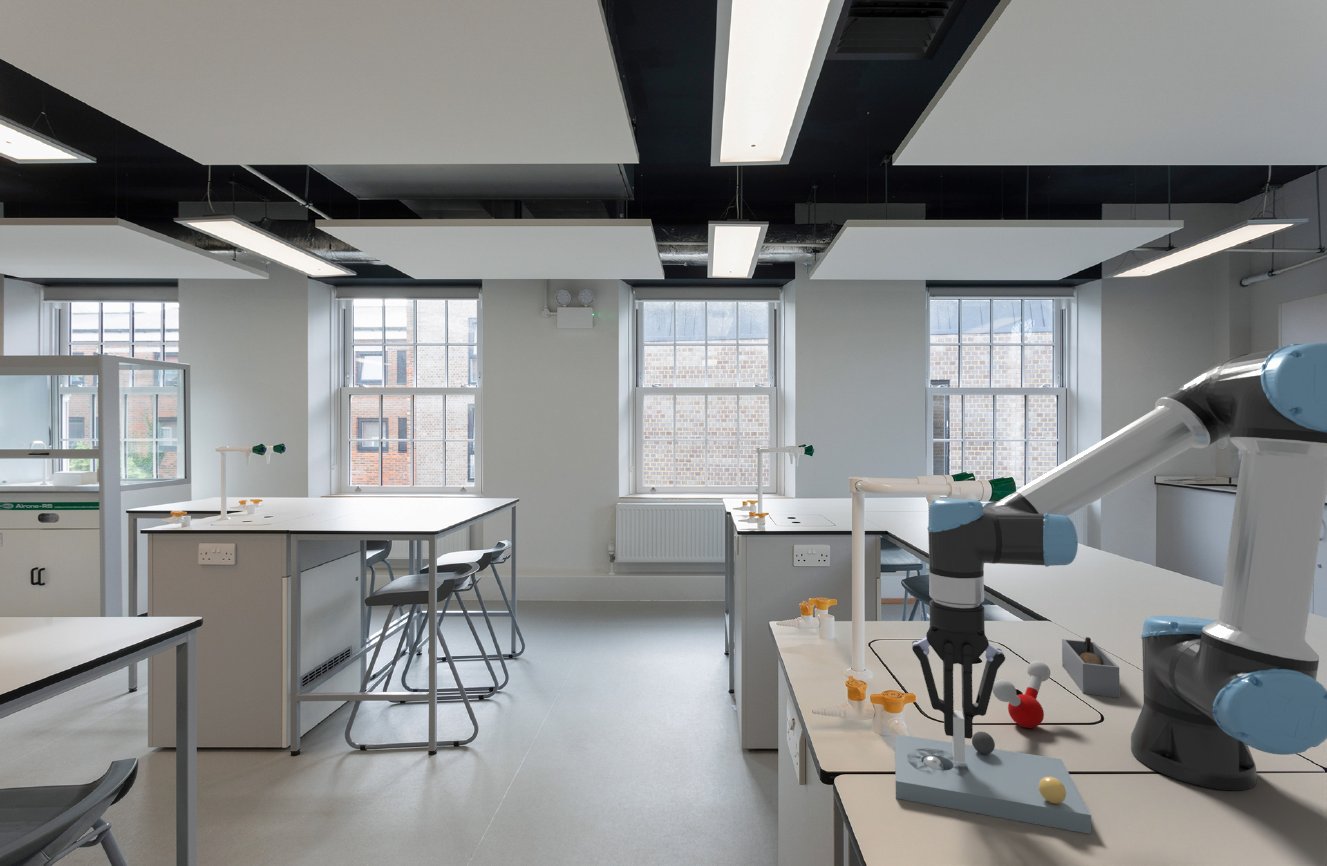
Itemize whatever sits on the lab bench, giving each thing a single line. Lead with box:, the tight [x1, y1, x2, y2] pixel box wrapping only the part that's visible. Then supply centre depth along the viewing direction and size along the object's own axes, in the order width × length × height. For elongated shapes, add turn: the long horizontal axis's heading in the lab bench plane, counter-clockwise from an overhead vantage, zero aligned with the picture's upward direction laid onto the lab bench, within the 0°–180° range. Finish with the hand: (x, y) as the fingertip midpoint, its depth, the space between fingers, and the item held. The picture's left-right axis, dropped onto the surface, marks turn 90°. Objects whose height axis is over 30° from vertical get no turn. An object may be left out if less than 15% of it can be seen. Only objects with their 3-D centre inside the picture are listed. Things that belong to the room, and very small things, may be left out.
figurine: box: [1079, 636, 1103, 665], centre depth 132 cm, size 14×4×9 cm, turn 153°
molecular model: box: [992, 660, 1051, 729], centre depth 111 cm, size 18×6×10 cm, turn 133°
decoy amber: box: [1039, 777, 1066, 804], centre depth 84 cm, size 3×3×3 cm
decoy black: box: [971, 731, 996, 754], centre depth 97 cm, size 3×3×3 cm
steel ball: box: [922, 756, 944, 771], centre depth 94 cm, size 3×3×3 cm
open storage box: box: [1061, 638, 1121, 699], centre depth 131 cm, size 6×16×6 cm, turn 160°
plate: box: [894, 733, 1092, 835], centre depth 92 cm, size 24×15×2 cm, turn 70°
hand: (958, 757), depth 93 cm, fingers closed
